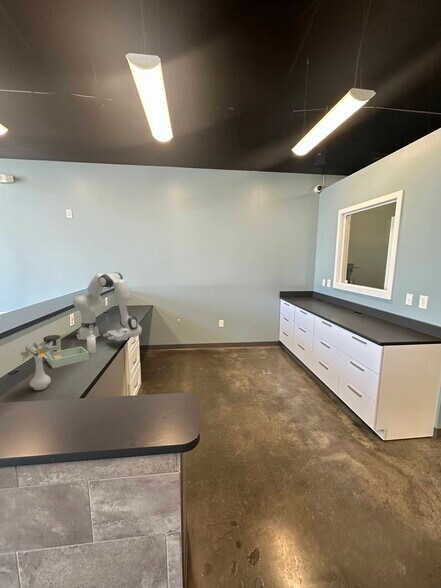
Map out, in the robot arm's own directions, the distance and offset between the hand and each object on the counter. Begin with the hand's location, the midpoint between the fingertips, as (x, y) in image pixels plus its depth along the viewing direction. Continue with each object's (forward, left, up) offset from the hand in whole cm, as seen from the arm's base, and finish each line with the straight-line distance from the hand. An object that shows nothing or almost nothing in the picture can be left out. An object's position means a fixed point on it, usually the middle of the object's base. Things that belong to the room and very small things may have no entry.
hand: (105, 337), depth 197 cm
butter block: (+8, -35, -9) cm, 37 cm away
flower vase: (+37, -50, -10) cm, 63 cm away
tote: (+8, -29, -9) cm, 31 cm away
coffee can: (-10, -34, -10) cm, 36 cm away
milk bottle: (0, -11, -10) cm, 14 cm away
